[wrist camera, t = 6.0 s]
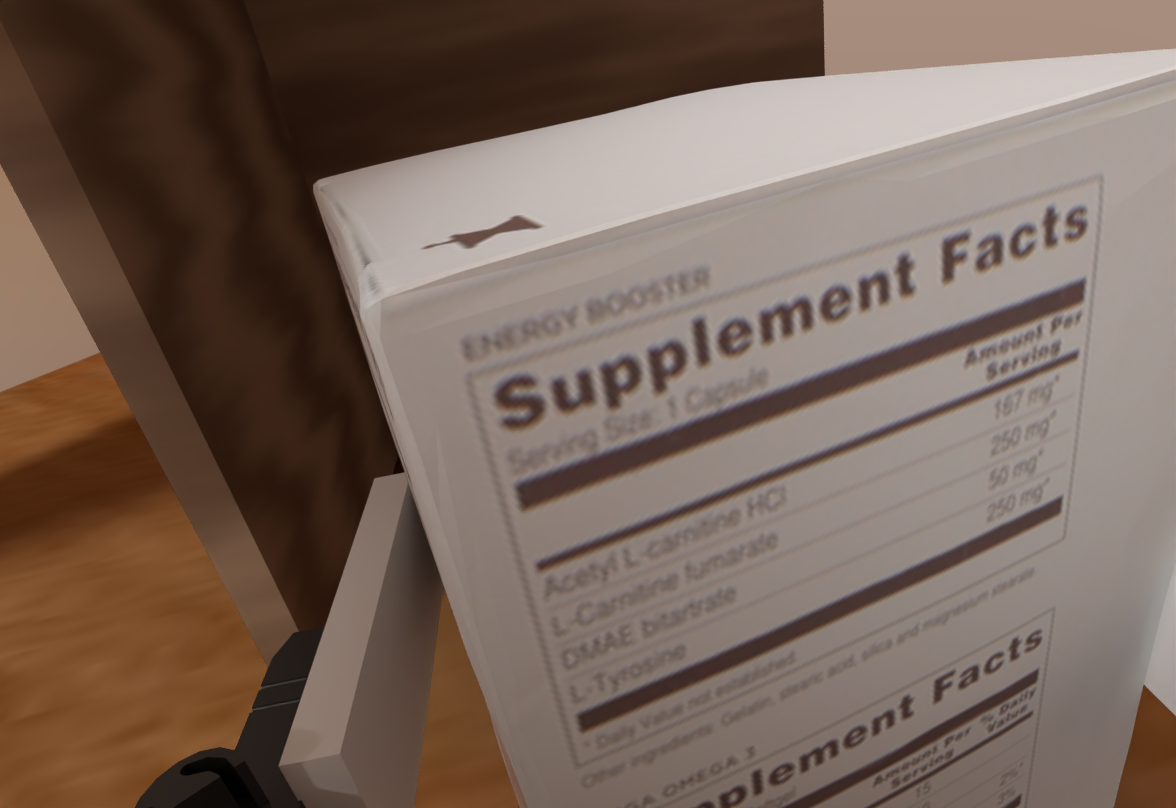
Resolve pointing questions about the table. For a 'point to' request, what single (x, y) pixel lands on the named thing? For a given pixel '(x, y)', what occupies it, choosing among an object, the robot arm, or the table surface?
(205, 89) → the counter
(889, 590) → the supplement box
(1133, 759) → the table surface
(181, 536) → the table surface
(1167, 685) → the robot arm
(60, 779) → the table surface
